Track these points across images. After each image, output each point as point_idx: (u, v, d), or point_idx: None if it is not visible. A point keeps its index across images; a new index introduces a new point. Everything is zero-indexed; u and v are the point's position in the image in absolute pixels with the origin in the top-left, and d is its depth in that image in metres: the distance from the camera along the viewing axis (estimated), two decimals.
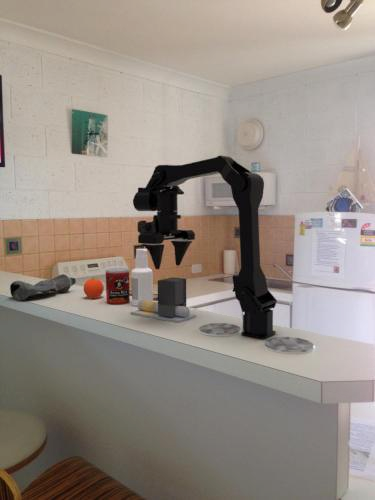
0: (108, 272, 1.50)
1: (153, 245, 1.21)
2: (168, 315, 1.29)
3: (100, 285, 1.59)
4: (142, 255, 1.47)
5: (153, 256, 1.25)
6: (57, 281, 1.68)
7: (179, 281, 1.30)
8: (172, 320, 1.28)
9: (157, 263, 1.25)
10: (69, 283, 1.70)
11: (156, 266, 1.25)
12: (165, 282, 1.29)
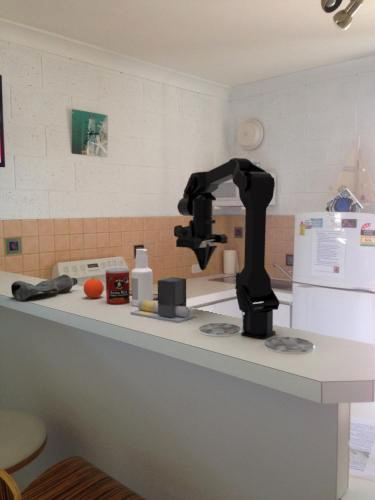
0: (108, 272, 1.50)
1: (200, 248, 1.31)
2: (168, 315, 1.29)
3: (100, 285, 1.59)
4: (142, 255, 1.47)
5: (199, 258, 1.35)
6: (58, 281, 1.68)
7: (179, 281, 1.30)
8: (172, 320, 1.28)
9: (202, 264, 1.35)
10: (70, 283, 1.70)
11: (201, 267, 1.35)
12: (165, 282, 1.29)
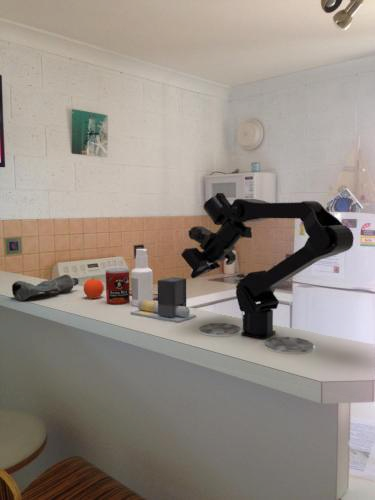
0: (108, 272, 1.50)
1: None
2: (168, 315, 1.29)
3: (100, 285, 1.59)
4: (142, 255, 1.47)
5: None
6: (59, 281, 1.68)
7: (179, 281, 1.30)
8: (172, 320, 1.28)
9: (195, 275, 1.26)
10: (71, 283, 1.69)
11: (192, 275, 1.26)
12: (165, 282, 1.29)
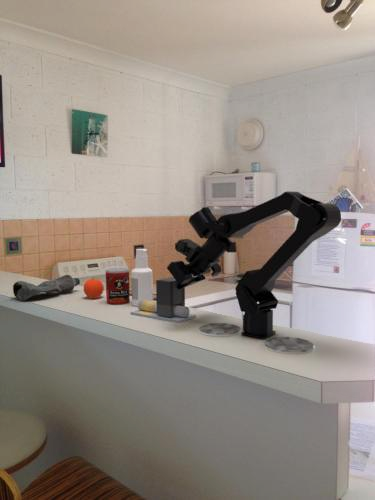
0: (108, 272, 1.50)
1: None
2: (167, 315, 1.29)
3: (100, 285, 1.59)
4: (142, 255, 1.47)
5: None
6: (60, 281, 1.68)
7: None
8: (172, 320, 1.28)
9: (181, 286, 1.29)
10: (73, 283, 1.69)
11: (178, 286, 1.30)
12: (164, 282, 1.29)
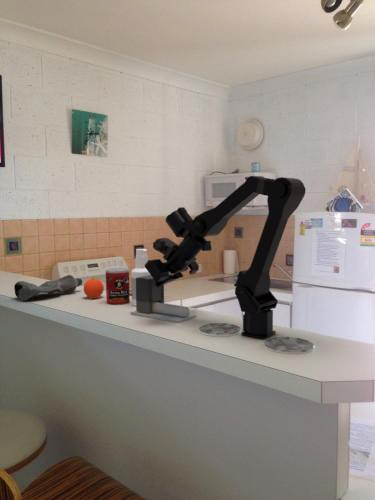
0: (108, 272, 1.50)
1: None
2: (146, 311, 1.34)
3: (100, 285, 1.59)
4: (142, 255, 1.47)
5: None
6: (62, 282, 1.67)
7: None
8: (172, 320, 1.28)
9: (159, 283, 1.33)
10: (74, 284, 1.68)
11: (157, 284, 1.34)
12: (143, 279, 1.33)
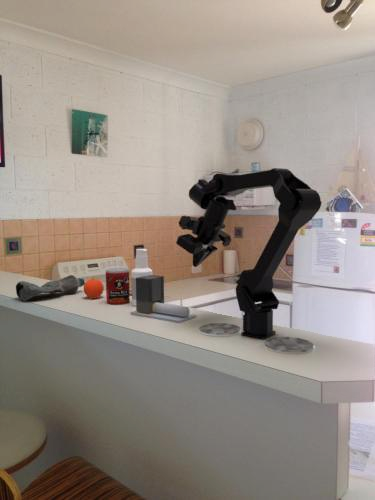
0: (108, 272, 1.50)
1: (200, 250, 1.24)
2: (146, 311, 1.34)
3: (100, 285, 1.59)
4: (142, 255, 1.47)
5: (195, 255, 1.28)
6: (64, 282, 1.66)
7: (156, 278, 1.35)
8: (172, 320, 1.28)
9: (196, 262, 1.29)
10: (76, 284, 1.67)
11: (194, 264, 1.30)
12: (143, 279, 1.33)
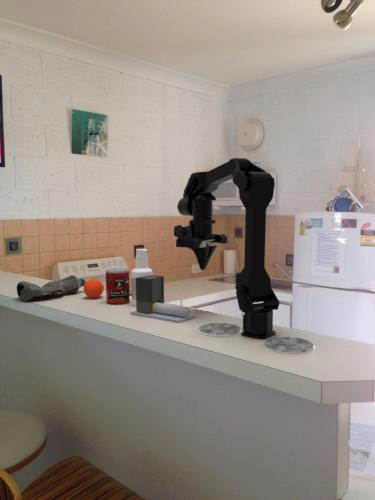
0: (108, 272, 1.50)
1: (200, 248, 1.31)
2: (146, 311, 1.34)
3: (100, 285, 1.59)
4: (142, 255, 1.47)
5: (199, 258, 1.35)
6: (65, 282, 1.66)
7: (156, 278, 1.35)
8: (172, 320, 1.28)
9: (202, 264, 1.35)
10: (77, 284, 1.67)
11: (201, 267, 1.35)
12: (143, 279, 1.33)
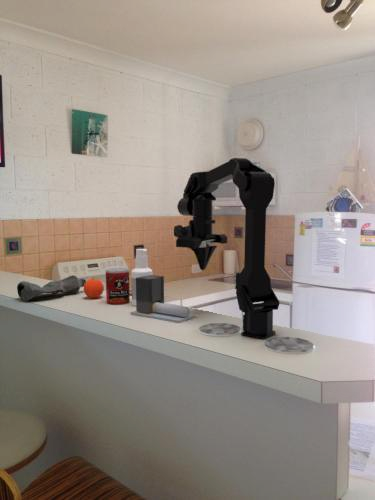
0: (108, 272, 1.50)
1: (200, 248, 1.31)
2: (146, 311, 1.34)
3: (100, 285, 1.59)
4: (142, 255, 1.47)
5: (199, 258, 1.35)
6: (66, 282, 1.66)
7: (156, 278, 1.35)
8: (172, 320, 1.28)
9: (202, 264, 1.35)
10: (78, 284, 1.67)
11: (201, 267, 1.35)
12: (143, 279, 1.33)
